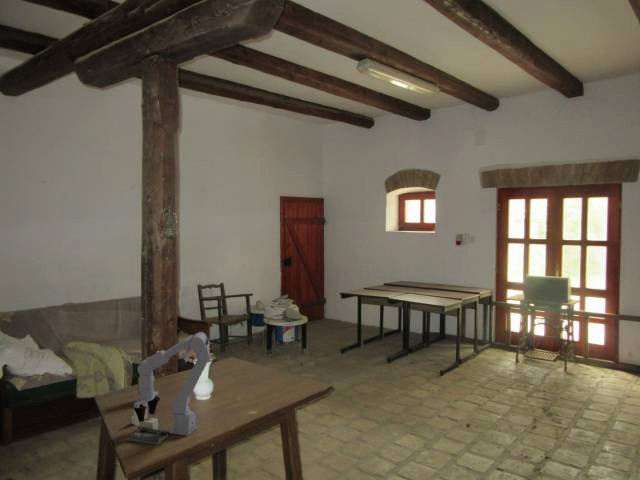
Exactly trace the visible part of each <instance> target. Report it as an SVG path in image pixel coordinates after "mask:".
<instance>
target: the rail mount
mask: <svg viewBox="0 0 640 480" xmlns="http://www.w3.org/2000/svg"><path fill="white" fill-rule="evenodd" d="M168 437H169V434H168V430H165V429H159V428H158V429H152V428H145V427H139V426H138V427H137V430H136V431H135V432H133V433H131V432H129V433H128V434H127V437H126V440H127V441H131V442H138V443H145V444H150V445H157V446H158V445H159V444H161V443H162V442H164V441H165V440H167V438H168Z"/></svg>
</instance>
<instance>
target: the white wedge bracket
mask: <svg viewBox="0 0 640 480" xmlns="http://www.w3.org/2000/svg"><path fill="white" fill-rule="evenodd" d="M143 406H145V407H147V408H146V410H145V416H144V417H148V404H147V402H146V403H144V404H143ZM131 424H133V425H134V426H139V420H138V417H137V414H136V412H135V410H134V409H133V415H132V416H131Z"/></svg>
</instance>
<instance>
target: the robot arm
mask: <svg viewBox="0 0 640 480" xmlns="http://www.w3.org/2000/svg"><path fill="white" fill-rule="evenodd" d="M184 350H185V351H190V350H191V351H192V352H193V353H194V354H195V356H196V359H197V360H196V361H195V363H194V365H193V367H192V369H191V371H190V373H189V375H188V377H187V379H186V382H185V383H184V385H183V387H182V389H181V391H180V392H179V393H178V394H176V398H175V399H174V401H173V402H172V404H171V410H172V429H170V430H169V431H168V433H169V434H173V435H180V436H188V437H189V435H191V434H192V433H193V432H194V431H196V429H197V415H196V413H195V412H194V411H191V410H190V406H189V404H190V402H191V396H192V394H193V391H194V389H195V387H196V385H197V384H198V381H199V380H200V377H201V376H202V373H203V372H204V370H205V368H206V365H207V364H208V361H209V360H210V358H211V351H210V339H209V337H208V336H207V334H206V333H205V332H203V331H198V332H196V333H195V334H192V335H189V336H188V337H185V338H184V339H182V340H181V341H179V342H178V343H176V344H174V345H173V346H172V347H170V348H169V349H167V350H163V349H162V350H160V351H159V350H157V351H155V354H153V355H151V356H150V357H149V356H148V357H146V358H145V359H144V360H142V361H141V362H140V364H139V365H138V366H137V374H138V373H139V377H140V378H139V390H140V396H138V395H137V399H136V401H135V402H134V403H133V406H132V409H133V411H134V410H135V412H136V414H137V417H138V420H139V422H143V421H144V416H145V410H146V408H147V409H148V412H149V413H148V414H149V415H152V416H155V413H156V409H157V406H158V402H159V401H160V397H159V391H157V390H155V391H154V392H153V371H152V370H157V369H158V368H160V367H161V366H163V365H165V364H167V363H168V362H169V359H170V358H171V357H172V356H174V355H177V354H178V353H180V352H182V351H184ZM146 402H148V404H147V407H145V406H143V404H144V403H146Z"/></svg>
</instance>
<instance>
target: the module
mask: <svg viewBox="0 0 640 480" xmlns="http://www.w3.org/2000/svg"><path fill="white" fill-rule="evenodd" d="M138 427H145V428H152V429H159V419H158V418H154V417H148V416H147V417H144V421H143V422H139V425H138Z"/></svg>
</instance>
